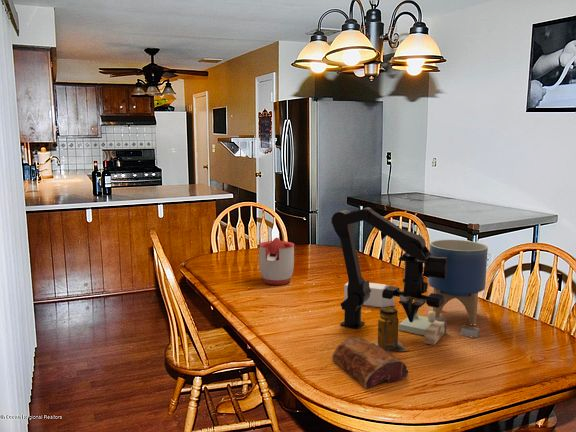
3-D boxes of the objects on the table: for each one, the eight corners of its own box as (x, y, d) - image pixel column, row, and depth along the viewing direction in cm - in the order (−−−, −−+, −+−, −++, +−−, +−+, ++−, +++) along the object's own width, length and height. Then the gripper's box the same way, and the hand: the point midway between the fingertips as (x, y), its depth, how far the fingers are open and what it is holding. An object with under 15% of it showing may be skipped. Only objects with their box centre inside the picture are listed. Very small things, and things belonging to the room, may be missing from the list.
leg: (436, 329, 172) (437, 316, 171) (447, 331, 170) (448, 318, 169) (423, 342, 161) (424, 329, 160) (434, 345, 159) (435, 331, 158)
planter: (415, 312, 190) (418, 242, 186) (455, 305, 198) (459, 237, 194) (453, 330, 173) (457, 252, 169) (495, 321, 181) (500, 247, 177)
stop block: (476, 338, 165) (477, 331, 165) (460, 335, 168) (461, 327, 168) (478, 335, 168) (479, 328, 168) (463, 332, 171) (463, 325, 170)
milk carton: (343, 302, 201) (392, 309, 193) (343, 284, 200) (393, 290, 192) (348, 297, 207) (396, 303, 200) (349, 280, 206) (396, 285, 199)
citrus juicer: (253, 286, 222) (253, 240, 219) (264, 276, 238) (264, 233, 235) (288, 289, 218) (289, 242, 215) (297, 278, 235) (298, 235, 232)
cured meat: (368, 343, 162) (368, 322, 161) (421, 376, 139) (421, 352, 138) (317, 354, 154) (317, 332, 153) (365, 391, 132) (365, 366, 131)
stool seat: (428, 336, 167) (428, 321, 166) (398, 330, 172) (399, 315, 171) (439, 325, 177) (439, 311, 176) (410, 319, 182) (411, 305, 181)
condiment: (373, 343, 161) (374, 306, 159) (400, 342, 162) (401, 305, 160) (380, 352, 154) (381, 314, 152) (407, 351, 155) (409, 313, 153)
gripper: (450, 274, 167) (447, 320, 169) (394, 265, 177) (393, 309, 179) (439, 281, 157) (437, 330, 160) (382, 272, 167) (380, 319, 170)
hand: (411, 322), depth 167 cm, fingers closed
